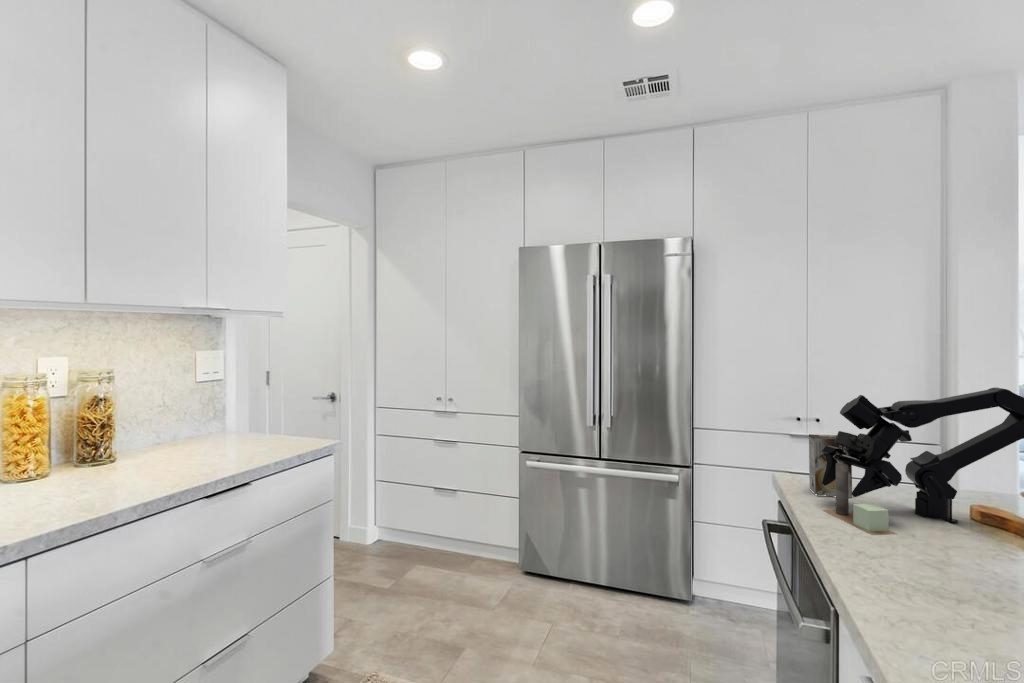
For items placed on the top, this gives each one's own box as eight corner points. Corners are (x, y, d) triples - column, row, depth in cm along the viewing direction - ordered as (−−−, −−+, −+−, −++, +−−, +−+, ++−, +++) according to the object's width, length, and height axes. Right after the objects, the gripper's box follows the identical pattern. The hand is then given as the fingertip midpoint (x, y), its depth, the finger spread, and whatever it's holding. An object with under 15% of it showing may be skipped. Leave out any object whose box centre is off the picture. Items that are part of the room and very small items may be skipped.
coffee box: (845, 492, 146) (845, 435, 146) (852, 498, 140) (852, 439, 140) (808, 489, 149) (808, 433, 148) (814, 496, 142) (814, 437, 142)
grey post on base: (844, 513, 129) (844, 461, 129) (897, 538, 113) (897, 478, 113) (821, 514, 128) (821, 461, 128) (871, 539, 112) (871, 479, 112)
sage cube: (872, 523, 119) (872, 503, 119) (888, 531, 114) (888, 510, 114) (853, 524, 119) (853, 504, 119) (868, 531, 114) (868, 511, 114)
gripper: (827, 414, 135) (789, 458, 134) (891, 426, 117) (847, 478, 115) (854, 443, 137) (817, 487, 135) (921, 460, 118) (878, 511, 116)
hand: (837, 489), depth 125 cm, fingers open, 9 cm apart
